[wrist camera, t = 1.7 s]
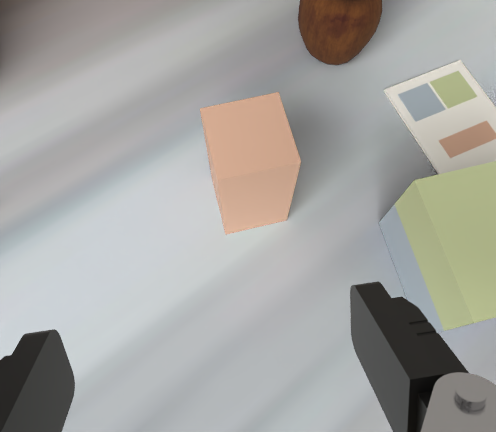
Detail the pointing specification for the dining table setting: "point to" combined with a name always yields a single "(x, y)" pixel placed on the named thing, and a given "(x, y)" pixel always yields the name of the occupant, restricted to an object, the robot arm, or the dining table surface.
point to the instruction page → (448, 117)
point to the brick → (251, 161)
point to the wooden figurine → (338, 27)
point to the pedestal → (447, 245)
